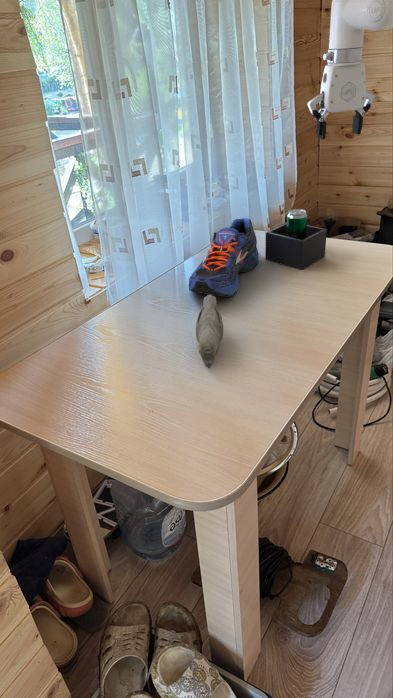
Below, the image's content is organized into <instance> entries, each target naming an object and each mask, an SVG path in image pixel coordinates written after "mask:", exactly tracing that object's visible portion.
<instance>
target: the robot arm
mask: <svg viewBox="0 0 393 698" xmlns="http://www.w3.org/2000/svg"><path fill="white" fill-rule="evenodd" d="M329 25H330V26H329V40H328V50H327V52H326V53H324V54H323V56H322V57H323V61H326V63H327V64H325V66H324V70H323V74H322V78H321V84H320V92H319V94H318V95H316V96H315V97H313V98H312V99H310V100H309V101H308V102H307V107H308V110H309V113H310V115H311V116H312V117H313V118H314V120H315V121H316V126H315V127H316V130H315V135H316V137H317V139H319V140H325V139H326V136H327V135H326V134H327V122H326V121H325V120H326V119H327V117H328V116H329V114H330V113H332V114H335V113H345V112H352V111H353V113H354V114H355V115H353V116H352V126H351V133H352V134H354V135H357V136H359V135H361V134H362V129H363V124H364V117H366V115H367V112H368V111H370V109H371V107H372V104H373V103H374V100H375V98H376V95H375V94H373V93H371V92H370V91H368V90H367V75H366V64H365V62H362V57H363V47H364V38H365V37H364V36H365V30H366V31H384V30H387V29H388V30H389V29H393V0H331V7H330V22H329ZM318 104H319V110H318V108H317V105H318Z"/></svg>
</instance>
